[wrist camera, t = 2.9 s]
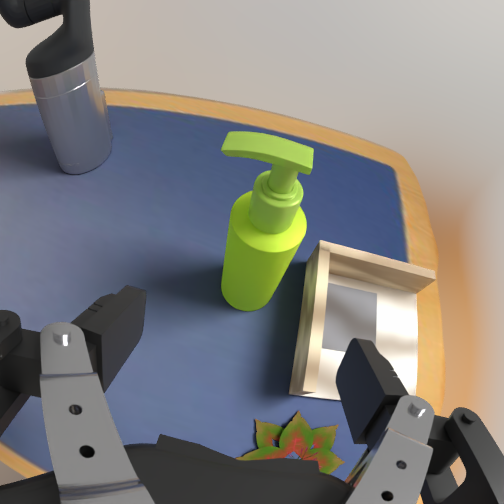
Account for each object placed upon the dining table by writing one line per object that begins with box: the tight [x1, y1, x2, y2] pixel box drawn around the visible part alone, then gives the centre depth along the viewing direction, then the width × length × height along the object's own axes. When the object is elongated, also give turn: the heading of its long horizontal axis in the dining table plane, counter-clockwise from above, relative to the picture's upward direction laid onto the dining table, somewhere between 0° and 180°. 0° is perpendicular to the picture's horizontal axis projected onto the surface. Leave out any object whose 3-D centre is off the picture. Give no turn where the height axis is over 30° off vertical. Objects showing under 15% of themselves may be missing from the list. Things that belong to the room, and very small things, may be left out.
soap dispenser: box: [221, 132, 314, 311], centre depth 25 cm, size 6×7×20 cm
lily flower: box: [236, 411, 345, 474], centre depth 23 cm, size 12×12×5 cm
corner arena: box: [289, 240, 436, 400], centre depth 31 cm, size 16×16×5 cm
